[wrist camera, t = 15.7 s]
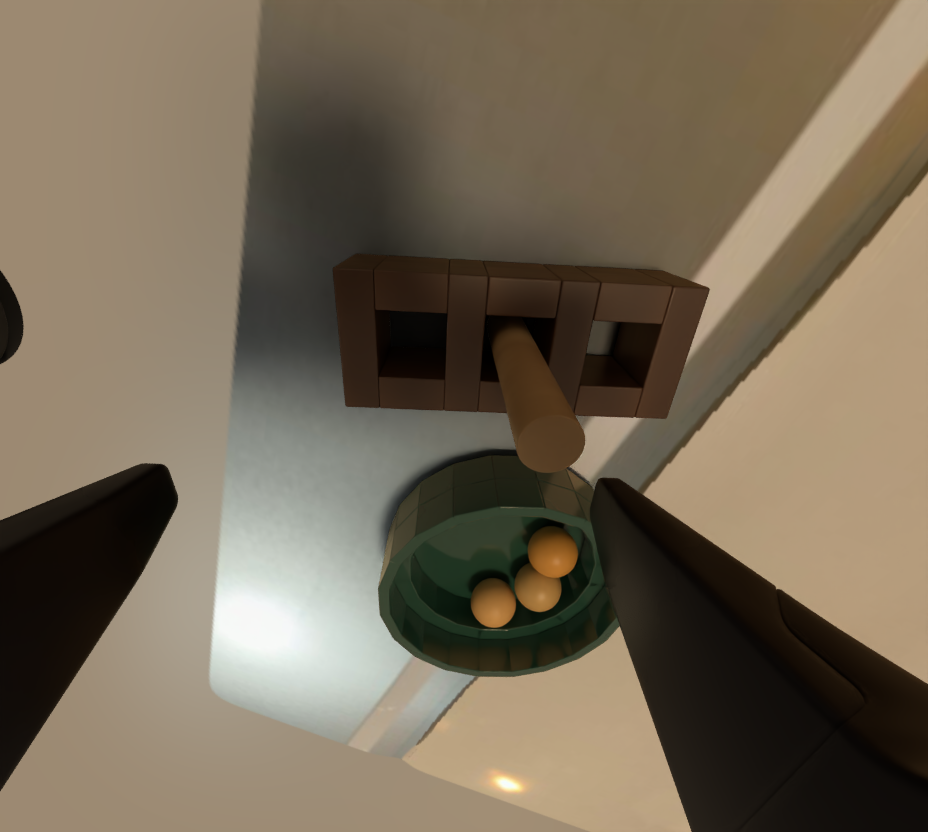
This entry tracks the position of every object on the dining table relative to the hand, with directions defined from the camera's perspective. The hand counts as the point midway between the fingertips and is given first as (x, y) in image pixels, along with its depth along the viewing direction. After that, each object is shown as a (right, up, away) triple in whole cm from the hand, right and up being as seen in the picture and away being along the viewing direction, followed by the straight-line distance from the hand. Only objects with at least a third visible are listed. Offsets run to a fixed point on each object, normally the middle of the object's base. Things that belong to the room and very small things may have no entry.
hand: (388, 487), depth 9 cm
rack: (+4, +6, +12) cm, 14 cm away
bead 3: (+6, -10, +18) cm, 21 cm away
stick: (+4, +6, +12) cm, 14 cm away
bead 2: (+7, -7, +16) cm, 19 cm away
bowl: (+4, -7, +19) cm, 20 cm away
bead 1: (+4, -11, +18) cm, 22 cm away
